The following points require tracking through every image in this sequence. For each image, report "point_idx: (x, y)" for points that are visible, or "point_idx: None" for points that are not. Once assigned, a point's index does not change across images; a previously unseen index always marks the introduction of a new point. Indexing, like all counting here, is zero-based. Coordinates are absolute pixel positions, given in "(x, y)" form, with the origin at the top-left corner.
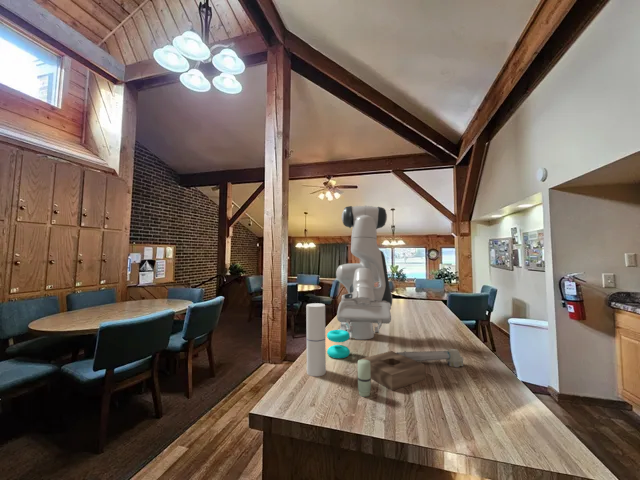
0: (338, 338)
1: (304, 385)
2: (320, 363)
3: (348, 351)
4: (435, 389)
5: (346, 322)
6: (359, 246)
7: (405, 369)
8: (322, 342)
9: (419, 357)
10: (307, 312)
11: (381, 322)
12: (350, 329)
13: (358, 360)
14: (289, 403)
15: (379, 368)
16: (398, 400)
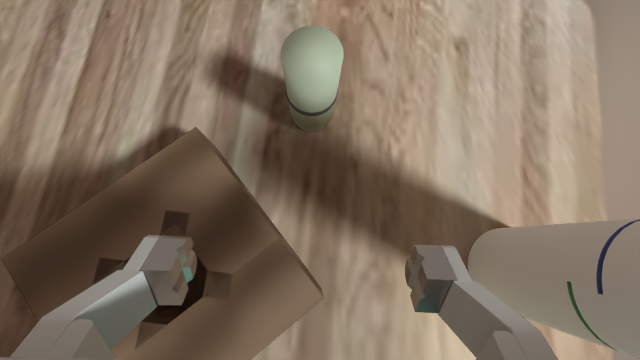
0: None
1: (518, 152)
2: (513, 233)
3: None
4: (54, 172)
5: (524, 329)
6: None
7: (119, 187)
8: (592, 244)
9: None
10: None
11: (45, 319)
12: (437, 246)
13: (339, 68)
14: (526, 45)
15: (238, 186)
16: (207, 89)
